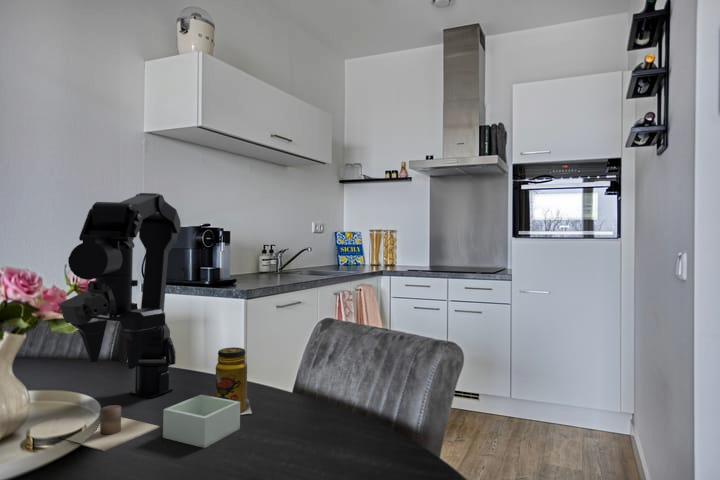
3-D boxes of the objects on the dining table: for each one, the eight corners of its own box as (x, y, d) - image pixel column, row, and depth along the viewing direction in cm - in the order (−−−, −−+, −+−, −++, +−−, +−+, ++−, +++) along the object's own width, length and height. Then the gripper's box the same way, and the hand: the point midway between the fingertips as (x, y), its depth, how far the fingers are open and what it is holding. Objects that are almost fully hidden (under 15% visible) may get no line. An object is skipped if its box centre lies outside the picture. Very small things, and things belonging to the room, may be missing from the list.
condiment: (212, 418, 92) (213, 354, 92) (212, 403, 101) (213, 345, 101) (251, 414, 95) (253, 352, 95) (248, 400, 103) (249, 343, 103)
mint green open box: (163, 438, 83) (163, 409, 83) (200, 421, 91) (201, 394, 91) (204, 449, 79) (205, 418, 79) (239, 429, 87) (240, 401, 87)
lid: (58, 441, 82) (59, 413, 82) (116, 420, 92) (116, 394, 92) (103, 455, 77) (104, 424, 77) (159, 430, 87) (159, 403, 87)
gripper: (31, 274, 81) (30, 369, 81) (111, 281, 73) (109, 385, 73) (92, 271, 91) (91, 355, 91) (168, 276, 84) (166, 367, 84)
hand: (112, 365), depth 85 cm, fingers open, 9 cm apart
